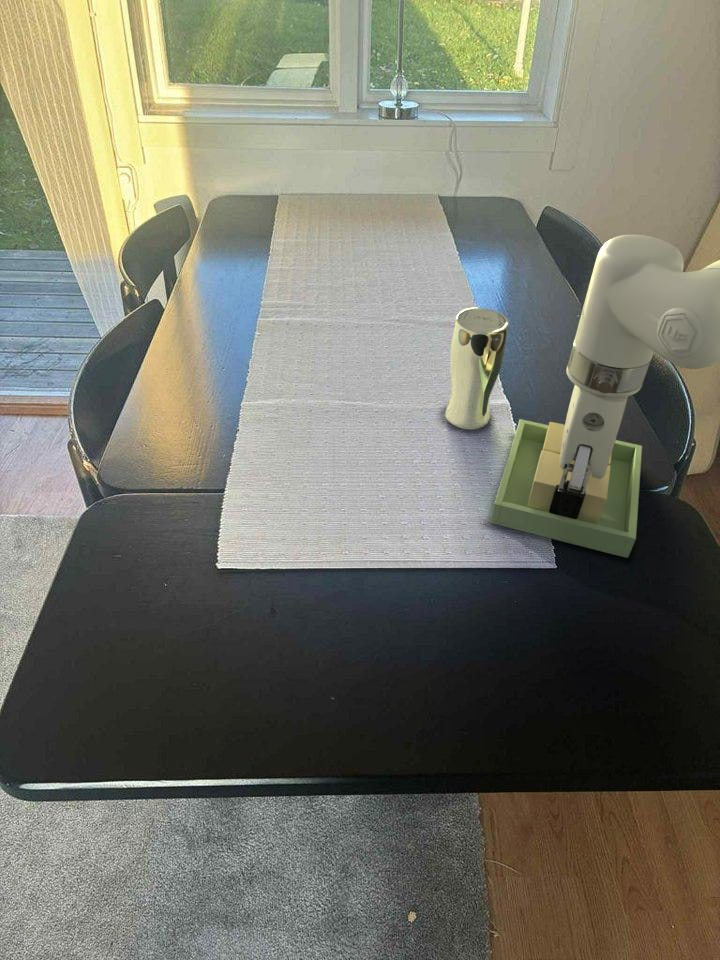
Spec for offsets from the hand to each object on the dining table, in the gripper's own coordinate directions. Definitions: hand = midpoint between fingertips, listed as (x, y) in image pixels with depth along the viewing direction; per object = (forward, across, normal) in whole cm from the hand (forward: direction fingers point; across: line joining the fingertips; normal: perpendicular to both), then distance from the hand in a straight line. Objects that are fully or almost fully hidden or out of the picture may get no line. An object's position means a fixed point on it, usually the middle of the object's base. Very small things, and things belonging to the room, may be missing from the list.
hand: (566, 495), depth 82 cm
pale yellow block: (+2, +8, 0) cm, 9 cm away
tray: (+3, +4, 0) cm, 5 cm away
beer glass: (+3, +15, +15) cm, 21 cm away
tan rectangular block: (+1, 0, 0) cm, 1 cm away
